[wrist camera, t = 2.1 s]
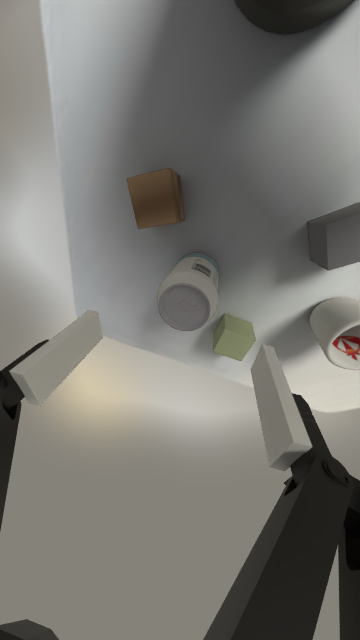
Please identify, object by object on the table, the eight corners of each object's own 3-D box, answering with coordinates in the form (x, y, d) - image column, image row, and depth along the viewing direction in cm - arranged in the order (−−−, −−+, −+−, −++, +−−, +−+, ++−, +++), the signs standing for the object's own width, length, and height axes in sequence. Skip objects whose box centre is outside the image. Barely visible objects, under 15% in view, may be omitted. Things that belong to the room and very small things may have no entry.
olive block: (224, 313, 31) (225, 329, 27) (251, 322, 31) (256, 340, 27) (213, 334, 34) (212, 351, 30) (238, 342, 34) (240, 361, 30)
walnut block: (143, 183, 24) (126, 178, 19) (179, 175, 22) (169, 167, 18) (151, 225, 26) (138, 228, 22) (184, 220, 25) (177, 222, 21)
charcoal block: (306, 221, 22) (326, 225, 18) (356, 202, 20) (391, 201, 16) (310, 260, 24) (328, 270, 20) (355, 245, 23) (385, 254, 18)
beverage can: (167, 267, 29) (139, 298, 19) (203, 241, 26) (192, 262, 16) (191, 300, 31) (177, 344, 21) (227, 280, 28) (230, 320, 18)
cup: (396, 279, 24) (464, 307, 17) (382, 328, 27) (434, 366, 21) (302, 295, 27) (328, 324, 20) (301, 337, 31) (323, 372, 24)
